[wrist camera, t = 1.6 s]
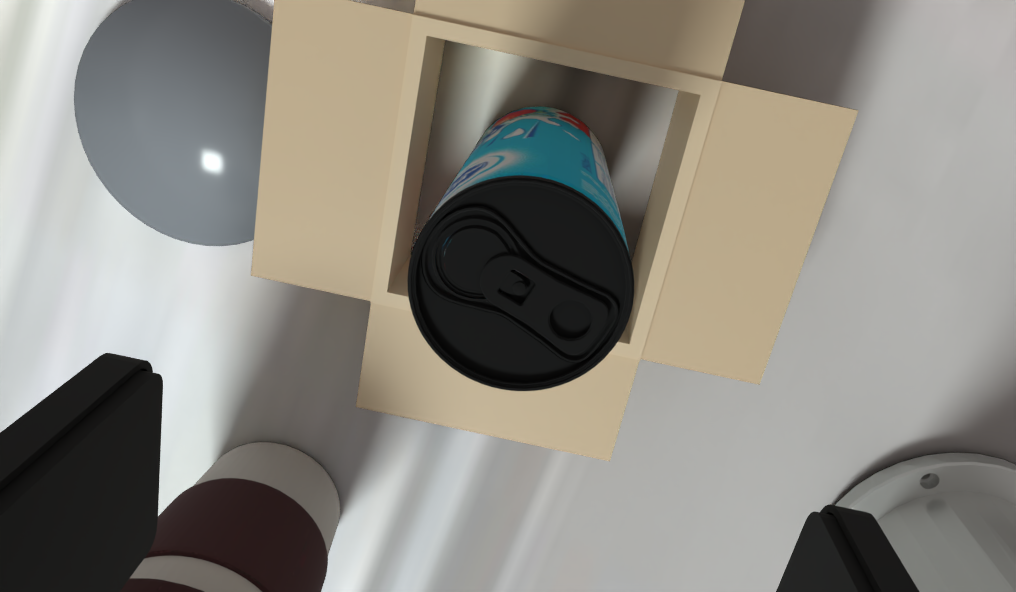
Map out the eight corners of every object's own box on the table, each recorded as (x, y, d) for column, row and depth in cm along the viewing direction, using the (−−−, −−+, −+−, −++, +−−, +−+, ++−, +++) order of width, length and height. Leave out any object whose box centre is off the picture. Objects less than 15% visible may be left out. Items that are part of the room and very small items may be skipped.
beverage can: (536, 74, 33) (512, 126, 19) (634, 170, 34) (683, 288, 20) (444, 175, 34) (360, 292, 20) (541, 263, 35) (524, 431, 21)
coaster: (339, 20, 32) (335, 21, 32) (311, 264, 36) (307, 268, 36) (81, -36, 32) (73, -36, 32) (82, 214, 36) (74, 218, 36)
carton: (861, -33, 30) (914, -40, 26) (704, 427, 38) (723, 487, 33) (330, -148, 30) (287, -177, 25) (280, 337, 38) (240, 384, 33)
